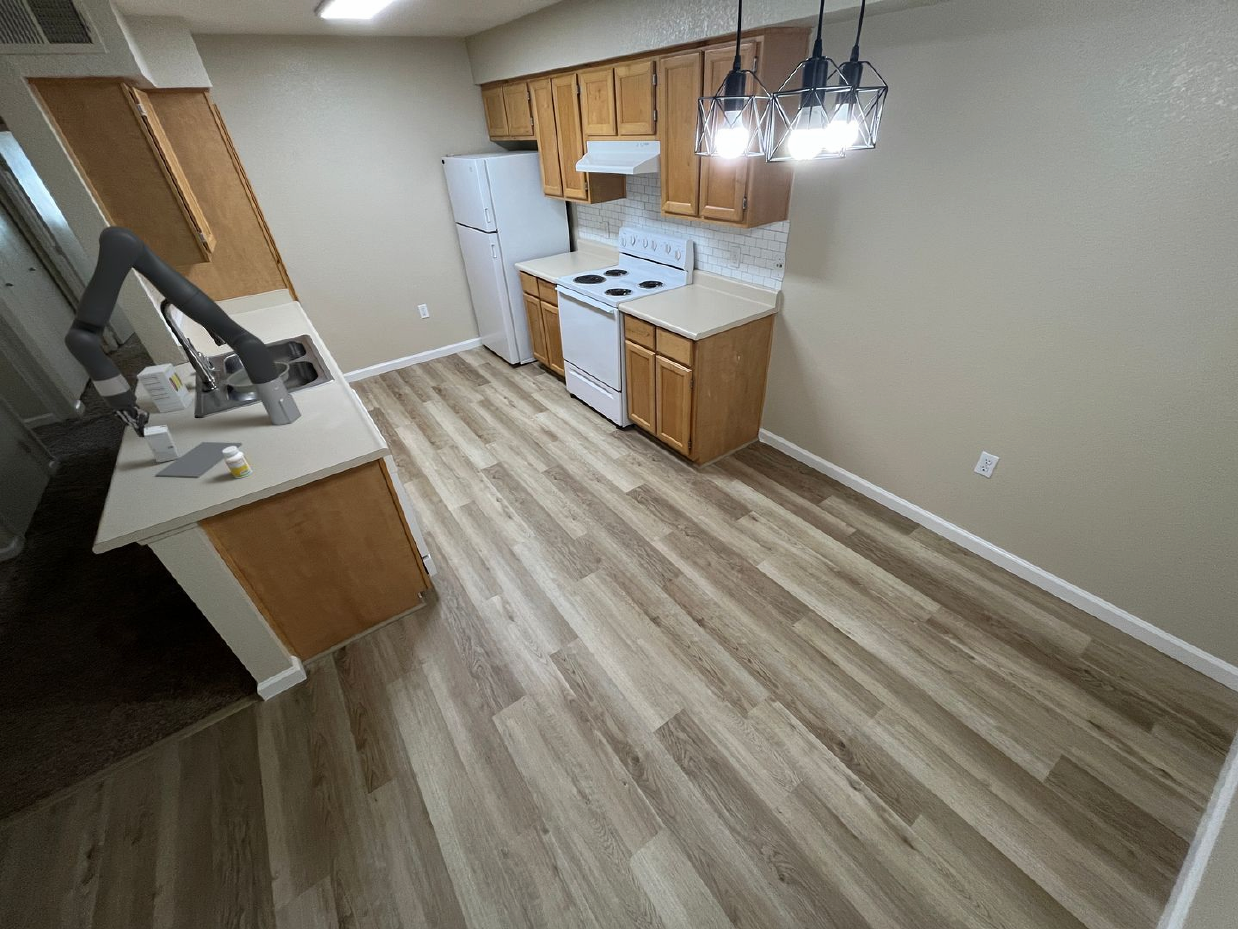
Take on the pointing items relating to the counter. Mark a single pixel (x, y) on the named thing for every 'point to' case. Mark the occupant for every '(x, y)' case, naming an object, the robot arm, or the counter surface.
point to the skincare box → (161, 443)
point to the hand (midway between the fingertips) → (144, 436)
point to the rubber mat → (197, 460)
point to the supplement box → (165, 387)
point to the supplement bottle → (237, 462)
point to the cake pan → (243, 382)
